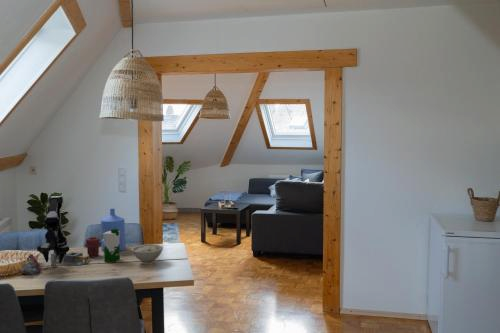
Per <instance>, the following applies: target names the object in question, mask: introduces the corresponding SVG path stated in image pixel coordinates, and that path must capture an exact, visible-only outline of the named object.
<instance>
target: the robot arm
mask: <svg viewBox="0 0 500 333" xmlns="http://www.w3.org/2000/svg"><path fill="white" fill-rule="evenodd" d="M63 203H64V197H63V196H62V195H53V196H50V197H48V204H49V211H48V213H47V214H46V216H45V218H44V227H43V229H44V230H46V232H45V233H44V234H45V235H44V239H45V243H43V244H40V245H38V246H37V247H36V251H37V252H39V253H40V254H42V256H43V258H44V260H45V262H46V263H48V262H49V255H50V251H53V253H56V257H57V256H58V260H59V263H61V262H62V260H63V258H64V255H65V254H67V253H69V252H70V246H69V245H68V240H67V237H66V236H65V232H64V231H63V230H62V218H61V217H62V216H61V208H62V206H63V205H64V204H63Z"/></svg>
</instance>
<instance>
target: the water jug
mask: <svg viewBox="0 0 500 333" xmlns="http://www.w3.org/2000/svg"><path fill="white" fill-rule="evenodd" d="M115 210H116V209H115V208H109V215H107V216H106V217H104V218H102V219H101V220H100V230H101V232H102V234H103V233H105V232H108V231H111V229H118V231H120V237H119V244H120V252H121V251H124V250H125V249H126V238H125V237H126V231H125V230H126V229H125V224H126V223H125V218H124V217H121V216H119V215H117V214H116V211H115ZM101 251H102V252H104V237H102V239H101Z"/></svg>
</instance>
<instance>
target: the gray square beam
mask: <svg viewBox="0 0 500 333" xmlns="http://www.w3.org/2000/svg"><path fill="white" fill-rule="evenodd" d="M56 261H57V255H56V253H54V252H51V253H50V268H56V267H57V265H58V264H57V263H56Z"/></svg>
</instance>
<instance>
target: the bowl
mask: <svg viewBox="0 0 500 333" xmlns="http://www.w3.org/2000/svg"><path fill="white" fill-rule="evenodd" d="M163 250H164V246H161V245H159V244H143V245H137V246H135V247H132V248H131V251H132V254H133V255H134V257H135V258H137V259H138V260H139V261H141V262H142V263H141V264H143V265H150V264H151V265H152V264H154V261H155V260H156V259H158V258H159V256H160V255H161V254H162V252H163Z"/></svg>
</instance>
